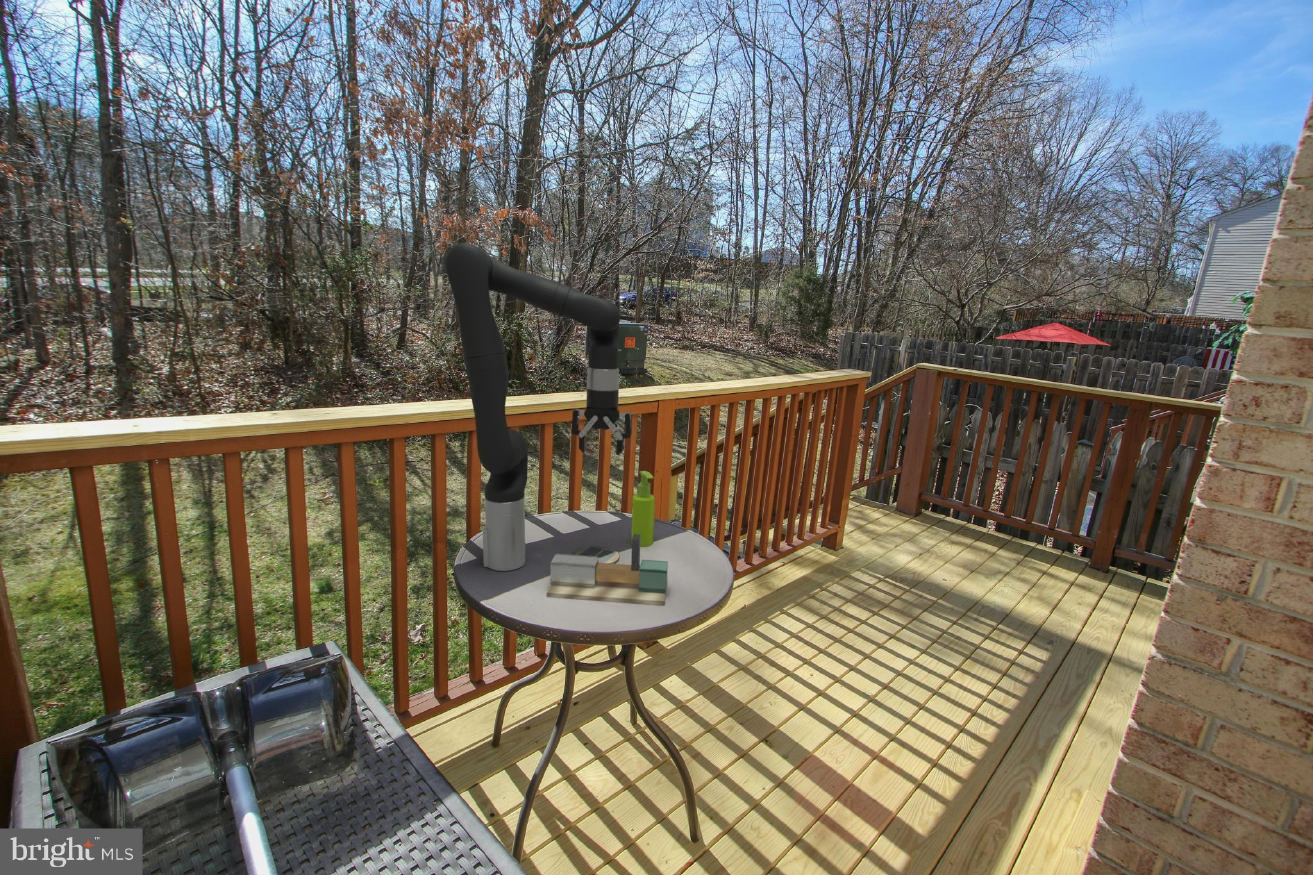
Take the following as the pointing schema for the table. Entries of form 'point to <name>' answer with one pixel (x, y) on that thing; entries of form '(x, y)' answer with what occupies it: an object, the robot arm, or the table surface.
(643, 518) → the soap dispenser
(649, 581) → the socket block
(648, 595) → the base board
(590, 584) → the outer sleeve
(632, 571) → the inner bar
